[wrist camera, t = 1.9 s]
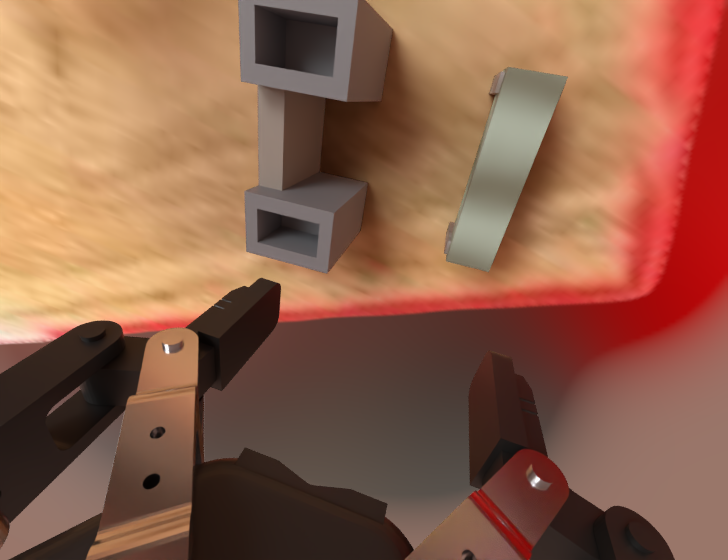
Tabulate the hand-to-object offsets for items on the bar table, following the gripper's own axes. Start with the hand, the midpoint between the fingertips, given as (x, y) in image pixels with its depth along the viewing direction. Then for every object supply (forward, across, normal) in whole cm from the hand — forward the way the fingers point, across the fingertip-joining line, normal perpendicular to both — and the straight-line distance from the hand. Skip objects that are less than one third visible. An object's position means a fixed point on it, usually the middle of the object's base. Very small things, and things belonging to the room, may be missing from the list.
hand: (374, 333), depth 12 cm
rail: (+22, -4, -4) cm, 22 cm away
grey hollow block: (+22, +10, -3) cm, 24 cm away
